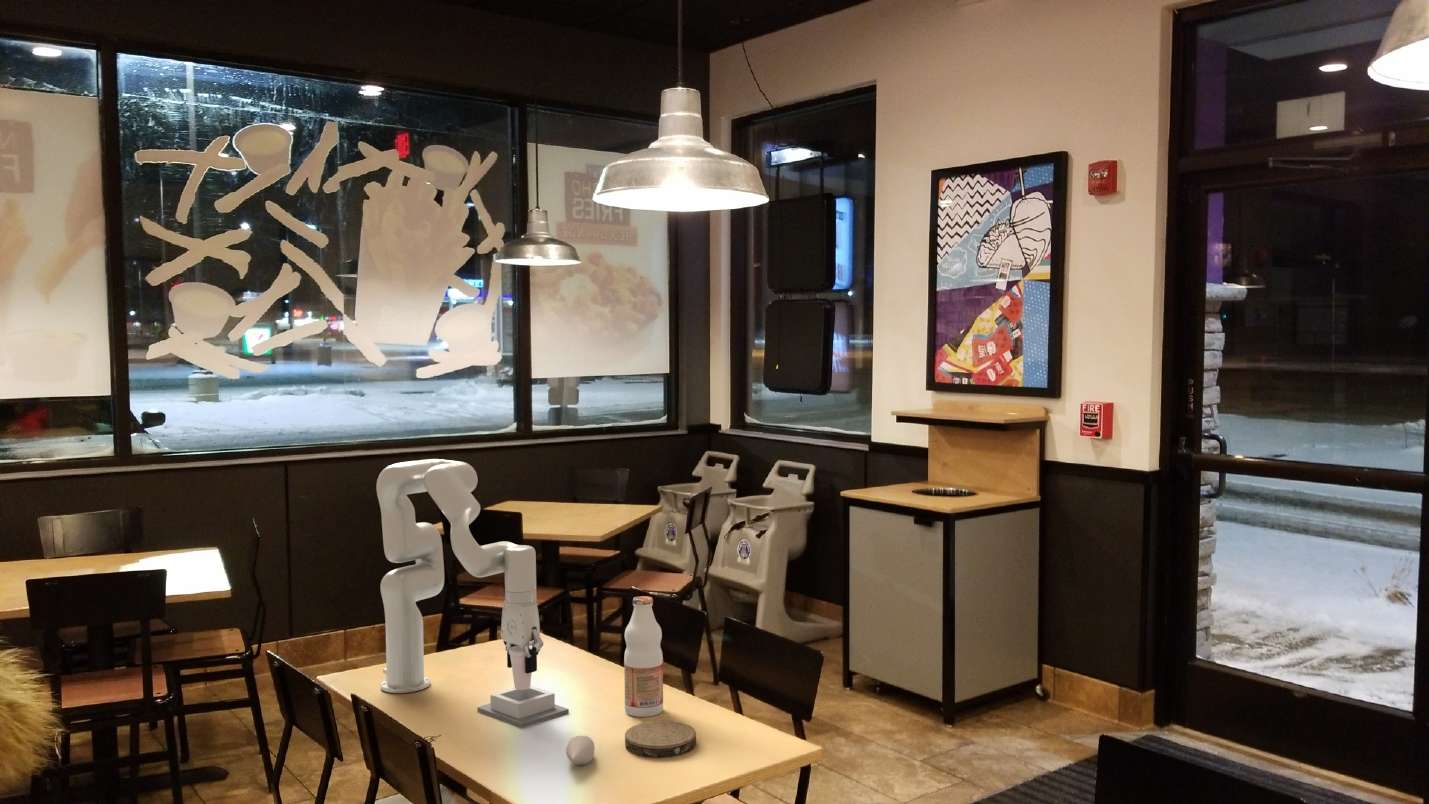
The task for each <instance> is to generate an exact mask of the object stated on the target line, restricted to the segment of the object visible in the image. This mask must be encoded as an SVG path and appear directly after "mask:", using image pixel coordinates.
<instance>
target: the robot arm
mask: <svg viewBox="0 0 1429 804" xmlns="http://www.w3.org/2000/svg"><path fill="white" fill-rule="evenodd" d="M477 485H478V475H477V471H476V470H475V469H474V467H473V466H472V465H470V464H469V463H467V462H464V461H459V460H458V461H457V460H449V459H439V458H430V459H427V458H426V459H420V460H409V461H403V462H397V463H393V464H391V465H387V466H386V467H385V468H383V469H382V471H381V472H380V473H379V475H378V478H377V480H376V496H377V499H378V504H379V507H380V513H381V527H382V540H383V542H382V543H383V550H384V555H385V558H386V560H388V561H389V562H391V563H394V564H395V563H396V564H399V563H400V564H402V563H407V562H411V561H415V564H413V565H407V566H403V567H398V568H395V569H393V570H390V571H388V572H387V573H386V574H385V575H384V576H383V577H382V579H381V582H380V595H381V598H382V603H383V609H384V619H385V623H384V625H385V658H386V662H385V663H386V664H385V666H386V667H385V668H384V669H383V670H382V673H383V674H385V676H386V677H385V678H386V679H385V680H383V681H382V682H381V683H380V689H381V691H384V692H386V693H391V694H407V693H413V692H414V693H415V692H418V691H421V690H424V689H427V688H428V687H430V685H431V679H430V677H428V676H425V665H424V664H425V661H424V660H425V659H424V658H425V655H424V654H425V653H424V621H423V615H422V613H421V611H420V609H419V607H418V606H417V603H416V602H419V601H421V600H425V599H429V598H430V599H431V598H432V597H435V596H437V595H438V594H440V593H441V591H442V590H443V588H444V584H445V565H444V564H445V563H444V551H443V549H444V548H443V541H442V536H441V534H440V532H439V529H438V528H437V527H436V526H434V525H433V524H432V523H429V522H425V521H423V522H416V510H415V507H414V504H413V503H412V501H411V500H410V498H409V497H408V495H412V494H420V493H425V492H427V493H428V494H429V496H430V497H431V498H432V500H433V501H434V502H435V504H436V505H437V506H438V508H439V510H441V512H442V513H443V515H444V516H445V519H447V520H448V522H449V524H450V533H449V535H450V544H451V548H452V551H453V554H454V555H455V557H456V558H457V560H458V561H459V562H460V564H461V565H462V567H463V568H464V569H465V571H467V572H468V573H469V574H470V575H471V576H472V577H476V578H485V577H489V576H493V575H497V574H502V573H504V601H503V605H502V610H501V611H502V612H501V626H500V628H501V631H500V636H501V640H502V641H503V644H504V646H505V651H506V661H507V663H506V666H507V667H506V668H509V669H512V664H511V657H510V654H509V648H511V647H513V646H522V647H524V648H525V652H526V655H527V657H525V673H527V674H528V673H534V672H537V670H538V655H539V652H540V651H541V650H542V647H543V646H544V641H543V640H542V638H541V636H540V635H541V631H540V630H541V628H540V627H541V626H540V625H541V624H540V615H539V608H538V603H537V562H536V561H537V559H536V557H537V556H536V553H537V552H536V550H535V548H534V547H533V546H531V545H526V544H523V545H522V544H515V543H513V542H511V541H507V540H506V541H503V540H502V541H497V542H494V543H488V544H484V545H480V544H478V542H477V541H476V539H475V538H474V536H473V534H472V533H471V531H470V528H469V527H470V526H469V525H471V523H473V522H474V521H475V520H476V519H477V517H478V516H479V515H480V512H481V504H480V503H479V501H478V500H477V499H476V498H475V496H474V495H473V494H472V492H473V491H474V490H475V489H476V488H477ZM529 646H532V649H531V650H530V648H529Z"/></svg>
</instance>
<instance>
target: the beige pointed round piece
mask: <svg viewBox="0 0 1429 804" xmlns="http://www.w3.org/2000/svg"><path fill="white" fill-rule="evenodd" d="M595 751H596V750H595V743H594V740H593V739H592V738H591V737H590V736H588V735H578V736H574V737H572V738H570V740H569V741H568V743H567V744H566V748H565V752H566V753H565V754H566V756H567V759H568V761H569V762H571V763H572V764H574V765H576V766H585V765H587V764H588V763H590V762H592V759H593V758H594V757H595V756H594V755H595Z"/></svg>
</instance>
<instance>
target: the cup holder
mask: <svg viewBox="0 0 1429 804" xmlns="http://www.w3.org/2000/svg"><path fill="white" fill-rule="evenodd" d="M555 697H556V696H555V693H554V692H551V691H549V690H545V689H542V688H540V687H537V686H533V685H531V684H530V688H529V689H525V690H517V689H515V687H513V688H509V689H505V690H502V691H499V692H494V693H492V694H490V703H488V704H484V705H480V706H477V707H476V710H477V713H481V714H484V715H486V716H488V717H491V718H494V719H497V720H500V721H503V722H506V723H507V724H510V725H513V726H515V727H518V728H521V729H524V728H528V727H530V726H534V725H536V724H540V723H542V722H545V721H549V720H551V719H555V718H557V717H561V716H564V715H567V714H569V713H570V709H569V708H567V707H564V706H561V705H558V704H556V703H555V702H556V701H555V700H556V699H555Z"/></svg>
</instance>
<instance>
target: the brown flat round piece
mask: <svg viewBox="0 0 1429 804" xmlns="http://www.w3.org/2000/svg"><path fill="white" fill-rule="evenodd" d="M624 745H625V750H626V751H627V752H628V753H630V754H632V755H634V756H638V757H643V758H647V759H667V758H675V757H680V756H684V755H685V754H689V753H690V752H692V751H693V750H694V749H695V748H696V745H697V732H696V730H695V728H694V727H693V726H691V725H690V724H686V723H684V722H678V721H673V720H656V721H655V720H652V721H647V722H642V723H638V724H635V725H633V726H631V727H629V728H628V729H626V730H625V733H624Z"/></svg>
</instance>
